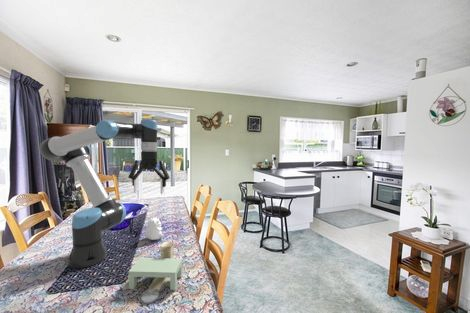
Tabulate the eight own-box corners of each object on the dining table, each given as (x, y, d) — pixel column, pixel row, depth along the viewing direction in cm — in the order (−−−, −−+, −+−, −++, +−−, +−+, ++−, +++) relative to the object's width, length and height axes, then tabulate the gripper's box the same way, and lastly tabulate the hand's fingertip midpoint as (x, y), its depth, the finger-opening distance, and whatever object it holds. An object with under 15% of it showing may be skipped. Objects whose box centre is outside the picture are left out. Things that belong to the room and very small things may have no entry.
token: (138, 303, 77) (138, 299, 77) (145, 292, 83) (145, 288, 83) (155, 304, 76) (155, 300, 76) (161, 292, 82) (161, 289, 82)
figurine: (145, 243, 121) (145, 222, 121) (144, 237, 130) (143, 217, 129) (164, 240, 126) (163, 219, 125) (161, 234, 135) (161, 214, 134)
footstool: (128, 288, 84) (128, 271, 83) (140, 273, 94) (140, 257, 93) (175, 290, 83) (175, 272, 83) (182, 274, 93) (182, 258, 93)
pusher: (147, 291, 83) (147, 263, 82) (164, 265, 101) (164, 241, 100) (159, 291, 82) (158, 263, 82) (173, 265, 100) (173, 242, 100)
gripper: (120, 150, 106) (120, 193, 108) (171, 151, 105) (170, 195, 106) (128, 149, 114) (129, 190, 115) (176, 151, 112) (175, 192, 114)
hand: (149, 192), depth 111 cm, fingers open, 13 cm apart
